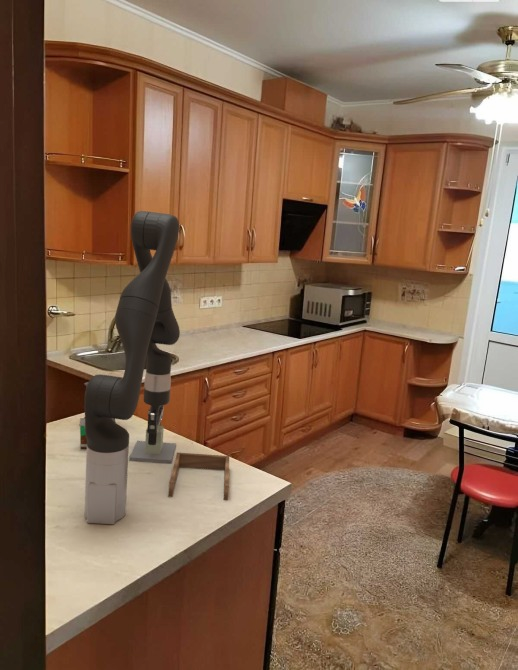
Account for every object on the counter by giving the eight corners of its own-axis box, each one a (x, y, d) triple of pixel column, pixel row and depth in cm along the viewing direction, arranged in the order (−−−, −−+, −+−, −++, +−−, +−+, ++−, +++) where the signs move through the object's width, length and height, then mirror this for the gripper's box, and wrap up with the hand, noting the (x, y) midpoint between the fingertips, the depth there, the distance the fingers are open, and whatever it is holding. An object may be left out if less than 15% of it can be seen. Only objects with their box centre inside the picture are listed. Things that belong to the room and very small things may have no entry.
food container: (99, 453, 151) (100, 420, 149) (78, 451, 151) (79, 418, 149) (112, 436, 163) (113, 406, 161) (92, 434, 163) (93, 404, 161)
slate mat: (171, 463, 149) (171, 460, 148) (129, 460, 148) (129, 457, 148) (175, 446, 160) (176, 443, 160) (137, 443, 160) (137, 440, 159)
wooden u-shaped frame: (227, 500, 132) (228, 485, 131) (168, 496, 131) (169, 481, 130) (228, 468, 149) (229, 456, 148) (176, 465, 148) (176, 452, 147)
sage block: (160, 454, 152) (161, 431, 150) (144, 452, 151) (146, 430, 150) (162, 447, 156) (163, 426, 155) (147, 446, 156) (148, 424, 155)
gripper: (167, 395, 143) (163, 449, 147) (173, 380, 157) (169, 430, 160) (140, 393, 143) (137, 447, 146) (148, 378, 157) (145, 428, 160)
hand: (154, 438), depth 153 cm, fingers open, 8 cm apart
